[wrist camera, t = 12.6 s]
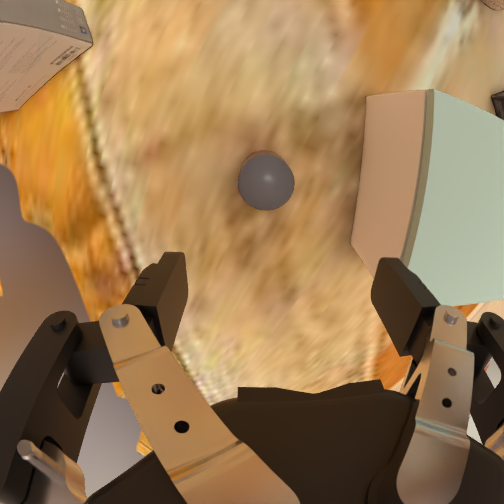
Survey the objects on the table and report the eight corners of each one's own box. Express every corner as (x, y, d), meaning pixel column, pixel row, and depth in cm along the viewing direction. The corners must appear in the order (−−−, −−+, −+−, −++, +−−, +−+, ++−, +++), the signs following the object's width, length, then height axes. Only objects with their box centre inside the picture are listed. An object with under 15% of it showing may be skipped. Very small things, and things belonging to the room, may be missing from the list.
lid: (426, 89, 14) (434, 89, 14) (541, 145, 15) (547, 147, 14) (389, 304, 22) (394, 311, 21) (504, 294, 22) (509, 298, 21)
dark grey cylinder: (240, 149, 29) (238, 155, 24) (289, 151, 29) (296, 157, 24) (240, 195, 31) (237, 209, 27) (286, 197, 31) (292, 211, 27)
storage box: (366, 96, 25) (424, 89, 15) (476, 129, 26) (539, 145, 15) (349, 243, 34) (387, 300, 23) (454, 247, 34) (501, 291, 23)
